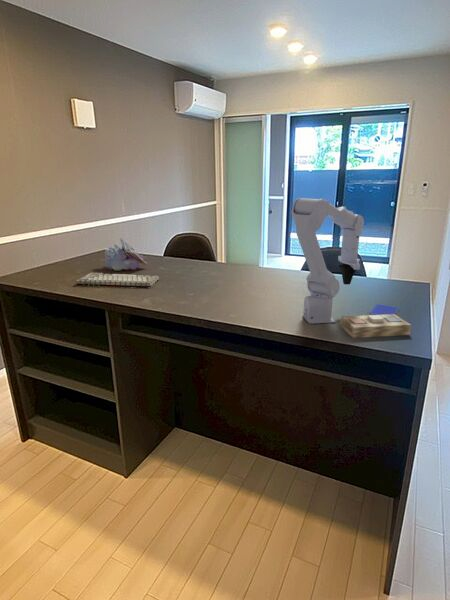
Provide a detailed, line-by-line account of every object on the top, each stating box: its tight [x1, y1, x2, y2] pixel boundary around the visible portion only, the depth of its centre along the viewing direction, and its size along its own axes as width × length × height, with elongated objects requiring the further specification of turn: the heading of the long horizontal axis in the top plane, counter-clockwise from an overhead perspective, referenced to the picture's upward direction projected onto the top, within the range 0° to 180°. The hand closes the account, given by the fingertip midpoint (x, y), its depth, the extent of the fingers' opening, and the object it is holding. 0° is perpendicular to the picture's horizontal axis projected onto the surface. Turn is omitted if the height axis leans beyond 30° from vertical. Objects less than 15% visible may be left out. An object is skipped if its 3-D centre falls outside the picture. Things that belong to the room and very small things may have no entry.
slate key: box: [384, 317, 401, 322], centre depth 128 cm, size 4×4×2 cm
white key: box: [367, 314, 384, 323], centre depth 127 cm, size 4×4×2 cm
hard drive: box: [368, 304, 399, 315], centre depth 144 cm, size 2×8×12 cm
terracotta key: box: [350, 319, 366, 324], centre depth 126 cm, size 4×4×2 cm
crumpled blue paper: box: [104, 237, 148, 272], centre depth 211 cm, size 20×22×18 cm
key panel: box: [340, 314, 412, 339], centre depth 127 cm, size 19×10×4 cm, turn 97°
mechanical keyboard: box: [74, 271, 160, 289], centre depth 185 cm, size 38×19×3 cm, turn 85°
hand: (346, 283), depth 143 cm, fingers closed
